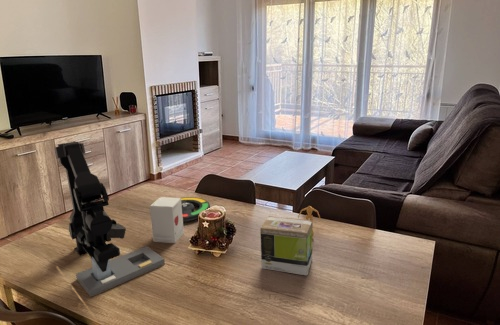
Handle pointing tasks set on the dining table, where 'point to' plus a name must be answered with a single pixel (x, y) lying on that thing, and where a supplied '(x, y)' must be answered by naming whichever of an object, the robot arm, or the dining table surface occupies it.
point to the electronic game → (192, 207)
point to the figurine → (309, 212)
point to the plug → (97, 271)
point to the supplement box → (167, 220)
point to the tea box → (286, 244)
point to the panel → (121, 270)
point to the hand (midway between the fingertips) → (101, 268)
